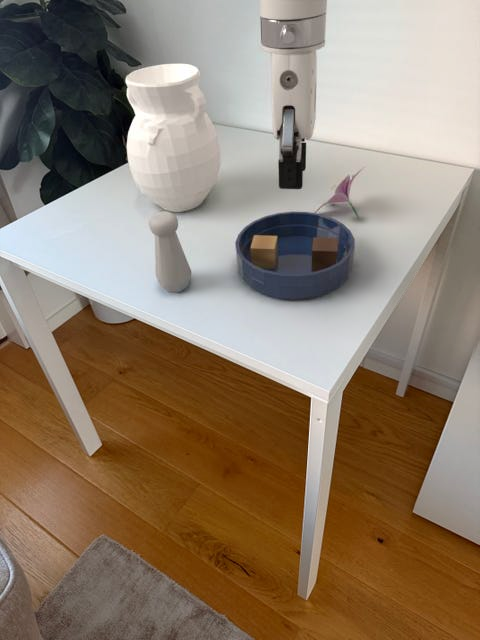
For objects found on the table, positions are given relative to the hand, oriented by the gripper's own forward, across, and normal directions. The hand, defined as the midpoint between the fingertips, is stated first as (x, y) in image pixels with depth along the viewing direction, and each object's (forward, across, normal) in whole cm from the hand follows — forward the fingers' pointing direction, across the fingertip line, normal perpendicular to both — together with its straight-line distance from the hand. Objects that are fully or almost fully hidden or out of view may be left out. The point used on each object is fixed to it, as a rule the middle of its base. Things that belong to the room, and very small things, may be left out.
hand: (292, 177), depth 68 cm
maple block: (+17, +3, +5) cm, 18 cm away
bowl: (+17, +3, 0) cm, 18 cm away
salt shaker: (+18, -4, +19) cm, 26 cm away
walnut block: (+17, +3, -5) cm, 18 cm away
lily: (+18, +21, -7) cm, 28 cm away
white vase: (+18, +25, +26) cm, 40 cm away
